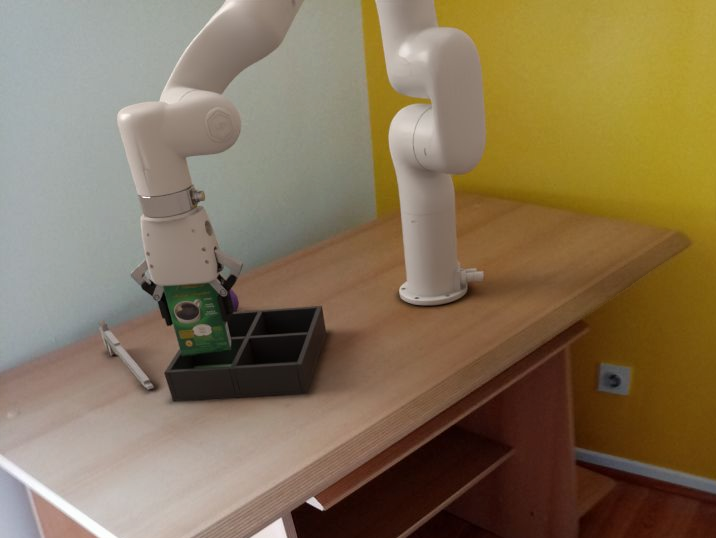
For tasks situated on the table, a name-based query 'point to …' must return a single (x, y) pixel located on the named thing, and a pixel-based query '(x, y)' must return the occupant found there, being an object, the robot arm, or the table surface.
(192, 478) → the table surface
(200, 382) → the organizer
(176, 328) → the coffee box
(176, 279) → the robot arm
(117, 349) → the caliper
